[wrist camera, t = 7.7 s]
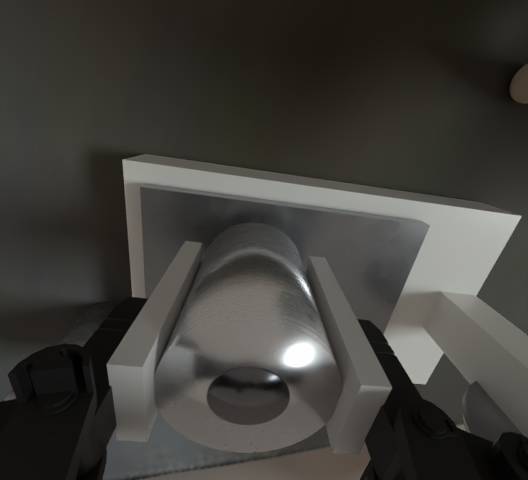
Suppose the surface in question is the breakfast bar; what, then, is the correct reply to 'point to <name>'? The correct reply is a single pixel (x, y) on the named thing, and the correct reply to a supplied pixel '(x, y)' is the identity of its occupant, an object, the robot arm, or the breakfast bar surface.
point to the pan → (299, 231)
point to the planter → (520, 85)
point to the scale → (415, 289)
